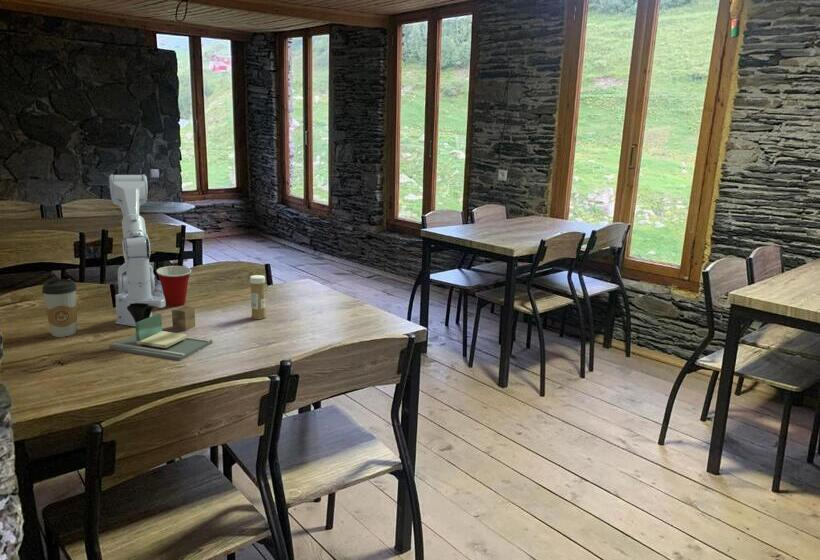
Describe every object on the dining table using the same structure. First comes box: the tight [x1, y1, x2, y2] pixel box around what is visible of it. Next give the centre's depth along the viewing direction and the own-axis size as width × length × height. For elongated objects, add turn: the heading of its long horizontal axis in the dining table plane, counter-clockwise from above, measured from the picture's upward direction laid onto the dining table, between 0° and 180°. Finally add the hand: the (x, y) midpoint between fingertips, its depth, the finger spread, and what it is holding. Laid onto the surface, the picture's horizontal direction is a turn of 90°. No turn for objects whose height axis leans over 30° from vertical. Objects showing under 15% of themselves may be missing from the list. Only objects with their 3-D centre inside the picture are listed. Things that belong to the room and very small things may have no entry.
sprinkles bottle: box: [249, 274, 267, 320], centre depth 190 cm, size 5×5×14 cm
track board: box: [109, 334, 213, 361], centre depth 165 cm, size 22×14×1 cm, turn 74°
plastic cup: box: [156, 265, 192, 307], centre depth 201 cm, size 11×11×12 cm
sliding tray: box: [134, 313, 188, 349], centre depth 164 cm, size 9×9×6 cm
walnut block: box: [171, 305, 196, 332], centre depth 179 cm, size 4×4×6 cm
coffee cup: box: [41, 278, 78, 338], centre depth 170 cm, size 8×8×15 cm
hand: (142, 329), depth 166 cm, fingers closed
